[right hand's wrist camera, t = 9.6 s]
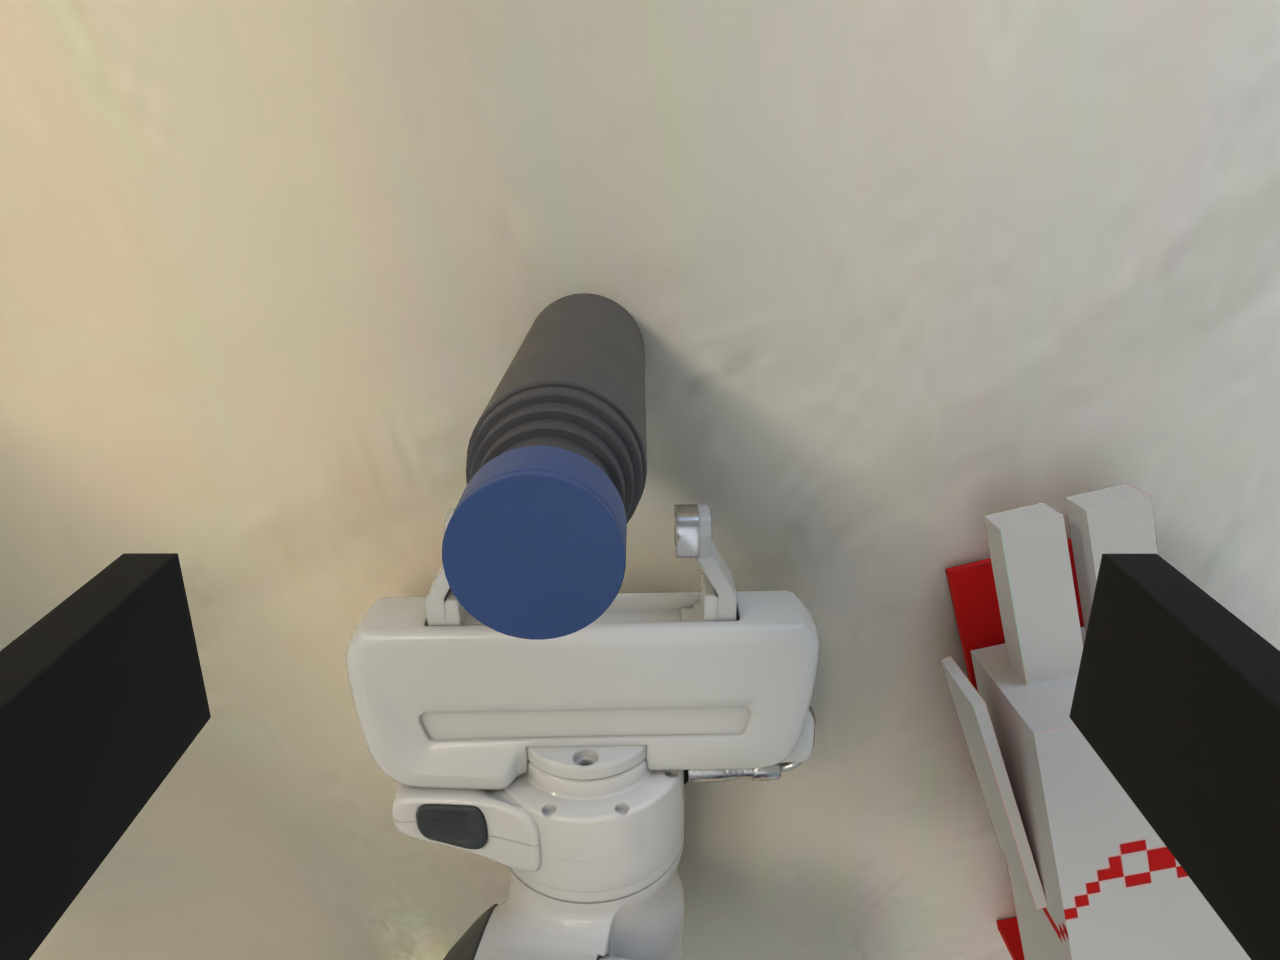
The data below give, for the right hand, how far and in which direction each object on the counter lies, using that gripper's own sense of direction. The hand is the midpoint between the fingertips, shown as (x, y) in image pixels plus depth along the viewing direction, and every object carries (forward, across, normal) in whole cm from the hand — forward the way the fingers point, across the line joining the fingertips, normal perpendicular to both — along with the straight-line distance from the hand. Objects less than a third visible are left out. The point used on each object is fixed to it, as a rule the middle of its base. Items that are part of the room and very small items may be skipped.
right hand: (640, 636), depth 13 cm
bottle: (+29, +2, +2) cm, 29 cm away
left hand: (+23, +2, +8) cm, 24 cm away
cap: (+8, +2, +2) cm, 9 cm away
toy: (+29, -22, +23) cm, 43 cm away
